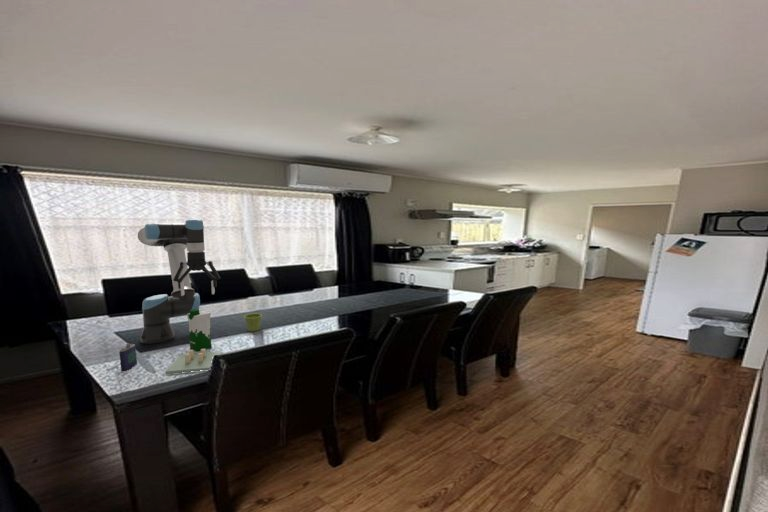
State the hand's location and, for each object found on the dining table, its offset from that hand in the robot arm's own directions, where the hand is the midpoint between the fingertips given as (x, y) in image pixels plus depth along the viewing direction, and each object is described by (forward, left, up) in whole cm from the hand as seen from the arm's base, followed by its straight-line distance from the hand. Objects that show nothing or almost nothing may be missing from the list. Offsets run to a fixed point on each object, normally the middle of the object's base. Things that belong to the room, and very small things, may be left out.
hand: (198, 294), depth 167 cm
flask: (-24, -17, -28) cm, 40 cm away
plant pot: (+22, +24, -28) cm, 43 cm away
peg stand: (+3, -20, -27) cm, 34 cm away
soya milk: (0, 0, -28) cm, 28 cm away
